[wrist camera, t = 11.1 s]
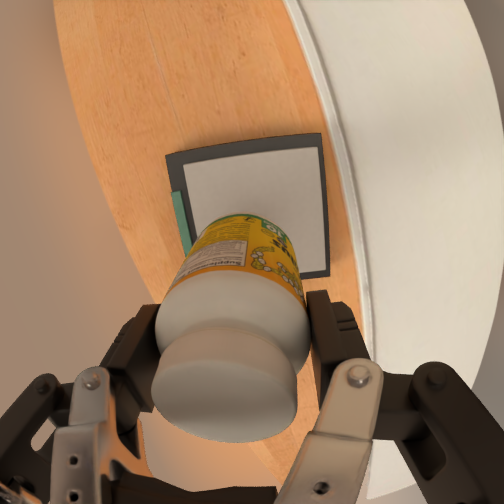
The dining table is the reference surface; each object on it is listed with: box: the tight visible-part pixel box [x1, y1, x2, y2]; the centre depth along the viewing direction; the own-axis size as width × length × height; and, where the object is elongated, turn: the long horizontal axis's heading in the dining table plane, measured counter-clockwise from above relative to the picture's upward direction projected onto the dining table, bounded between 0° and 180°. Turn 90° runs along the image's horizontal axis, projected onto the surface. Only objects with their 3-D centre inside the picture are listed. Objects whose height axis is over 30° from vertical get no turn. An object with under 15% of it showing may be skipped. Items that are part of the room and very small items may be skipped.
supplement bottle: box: [151, 211, 311, 443], centre depth 11 cm, size 5×5×10 cm
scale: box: [165, 133, 330, 280], centre depth 23 cm, size 12×12×3 cm
